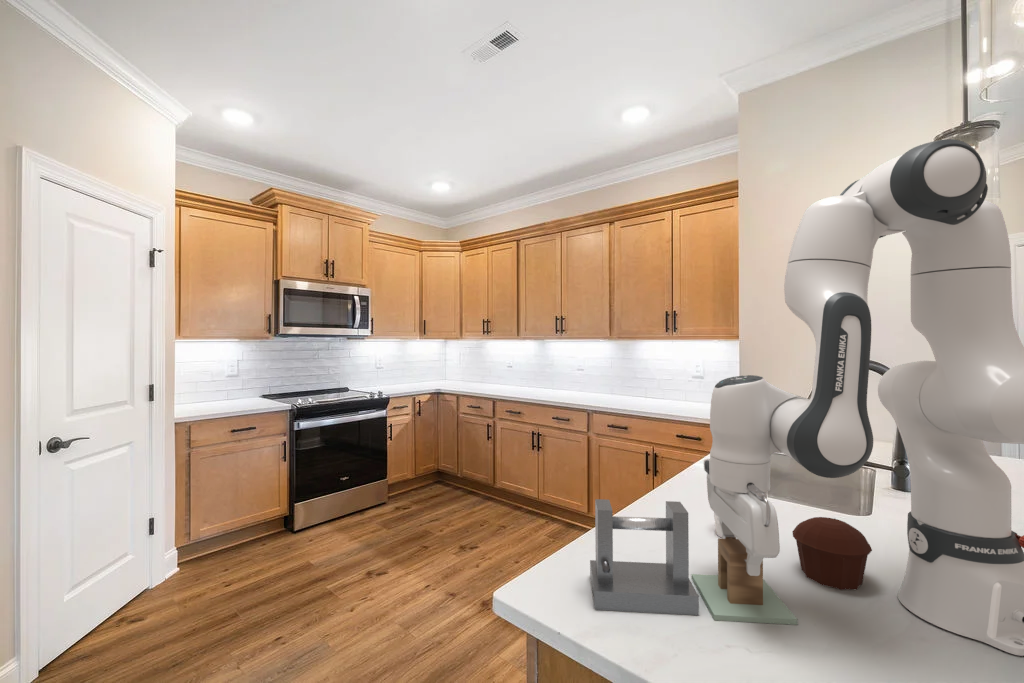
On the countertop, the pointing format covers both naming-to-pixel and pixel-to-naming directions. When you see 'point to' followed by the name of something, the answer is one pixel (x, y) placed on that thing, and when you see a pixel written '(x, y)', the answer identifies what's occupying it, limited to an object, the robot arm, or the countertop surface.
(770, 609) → the mat
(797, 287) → the robot arm
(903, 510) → the countertop surface
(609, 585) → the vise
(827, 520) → the muffin
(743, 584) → the wooden block
